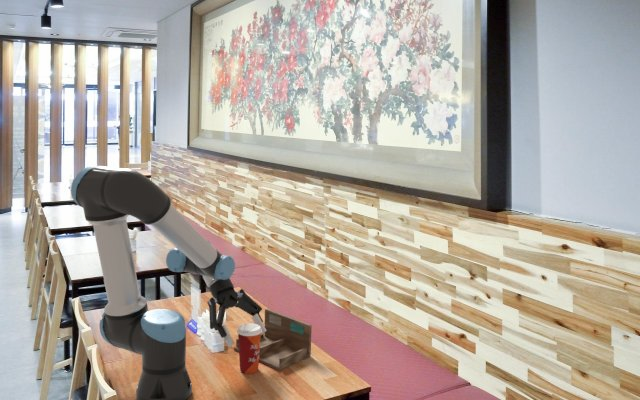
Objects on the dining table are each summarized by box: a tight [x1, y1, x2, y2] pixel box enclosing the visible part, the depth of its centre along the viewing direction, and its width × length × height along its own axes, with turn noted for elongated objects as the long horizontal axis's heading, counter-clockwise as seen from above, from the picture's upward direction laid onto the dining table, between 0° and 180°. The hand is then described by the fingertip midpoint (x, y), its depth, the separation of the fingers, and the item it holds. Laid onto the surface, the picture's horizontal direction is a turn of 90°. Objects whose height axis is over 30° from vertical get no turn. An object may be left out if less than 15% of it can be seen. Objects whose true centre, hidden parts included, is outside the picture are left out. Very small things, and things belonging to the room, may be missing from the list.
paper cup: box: [236, 322, 262, 375], centre depth 165 cm, size 8×8×14 cm
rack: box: [233, 308, 313, 371], centre depth 178 cm, size 15×22×11 cm
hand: (248, 339), depth 168 cm, fingers open, 13 cm apart
